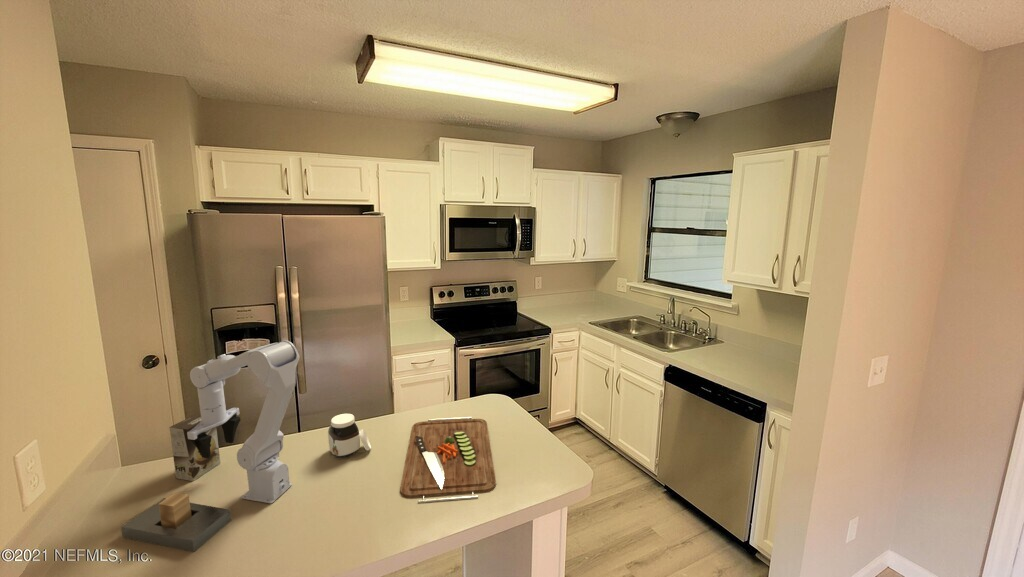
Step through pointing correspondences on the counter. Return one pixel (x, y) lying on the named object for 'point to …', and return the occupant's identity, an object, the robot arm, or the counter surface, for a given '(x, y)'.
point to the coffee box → (192, 450)
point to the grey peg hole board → (183, 537)
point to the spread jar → (346, 436)
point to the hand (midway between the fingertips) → (218, 449)
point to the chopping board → (448, 459)
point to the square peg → (175, 510)
